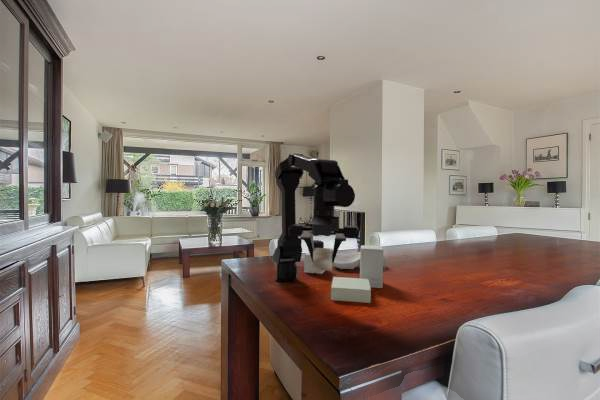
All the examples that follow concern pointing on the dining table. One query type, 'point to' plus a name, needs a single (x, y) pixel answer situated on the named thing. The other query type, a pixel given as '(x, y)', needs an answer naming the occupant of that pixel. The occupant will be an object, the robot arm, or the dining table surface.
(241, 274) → the dining table surface
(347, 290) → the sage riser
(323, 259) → the cream block
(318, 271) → the medicine bottle
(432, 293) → the dining table surface
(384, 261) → the spoon rest
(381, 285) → the supplement box
